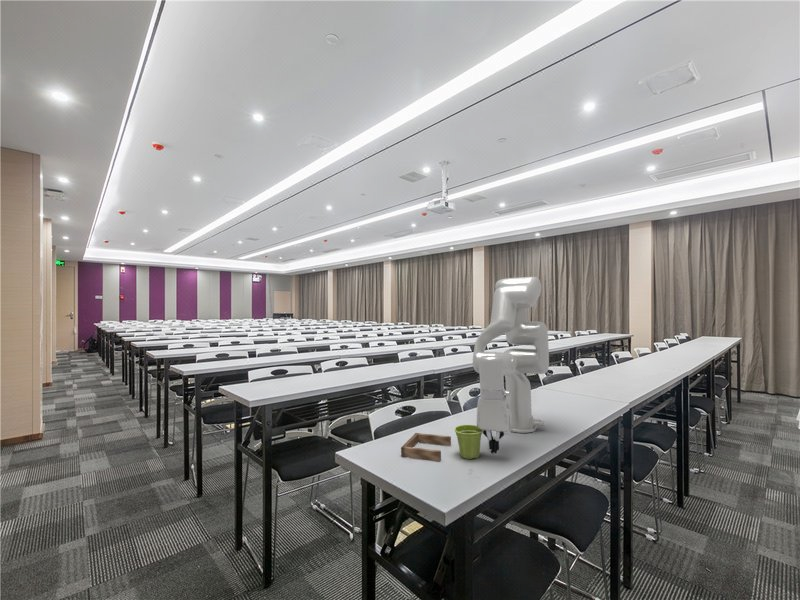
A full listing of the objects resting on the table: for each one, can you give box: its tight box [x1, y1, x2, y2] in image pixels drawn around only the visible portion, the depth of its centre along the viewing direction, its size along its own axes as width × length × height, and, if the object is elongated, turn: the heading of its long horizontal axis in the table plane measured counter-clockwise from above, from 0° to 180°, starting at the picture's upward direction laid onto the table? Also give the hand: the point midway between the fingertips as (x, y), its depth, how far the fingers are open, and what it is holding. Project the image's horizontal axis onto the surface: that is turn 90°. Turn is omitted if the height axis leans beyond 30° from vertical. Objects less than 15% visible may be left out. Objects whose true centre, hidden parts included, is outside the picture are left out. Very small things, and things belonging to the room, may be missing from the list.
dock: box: [400, 432, 452, 463], centre depth 124 cm, size 13×15×3 cm
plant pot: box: [453, 424, 483, 460], centre depth 119 cm, size 9×9×9 cm
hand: (494, 451), depth 116 cm, fingers closed
